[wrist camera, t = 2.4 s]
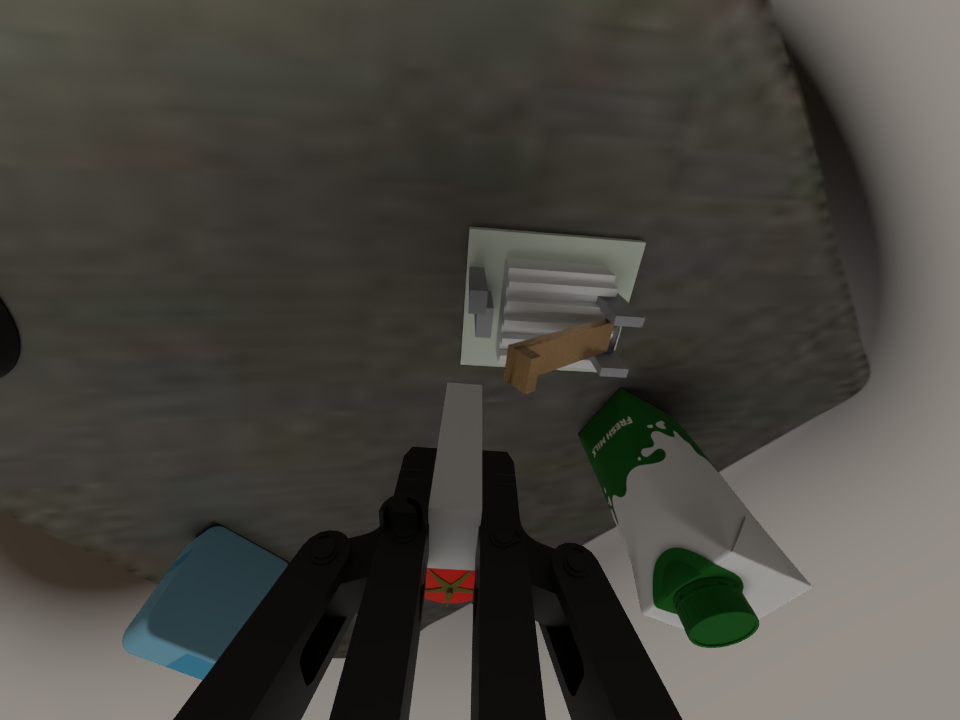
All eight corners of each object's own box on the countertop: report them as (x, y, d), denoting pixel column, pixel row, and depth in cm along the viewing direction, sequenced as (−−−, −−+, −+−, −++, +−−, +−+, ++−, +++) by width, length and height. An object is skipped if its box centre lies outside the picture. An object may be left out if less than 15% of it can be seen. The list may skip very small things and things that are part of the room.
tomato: (510, 524, 47) (520, 615, 38) (417, 541, 48) (406, 633, 39) (490, 460, 41) (496, 548, 32) (386, 481, 43) (364, 571, 33)
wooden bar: (501, 380, 24) (524, 397, 22) (506, 340, 22) (531, 356, 21) (603, 345, 29) (627, 357, 28) (612, 312, 28) (638, 322, 27)
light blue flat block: (192, 535, 46) (111, 648, 36) (213, 520, 45) (136, 631, 34) (274, 578, 51) (224, 689, 40) (295, 565, 49) (249, 675, 39)
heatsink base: (460, 359, 35) (459, 410, 28) (469, 226, 29) (470, 248, 22) (605, 367, 36) (638, 418, 29) (640, 240, 30) (693, 265, 23)
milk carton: (619, 376, 37) (759, 579, 19) (684, 413, 39) (861, 622, 21) (565, 436, 40) (641, 655, 23) (628, 466, 43) (741, 684, 25)
